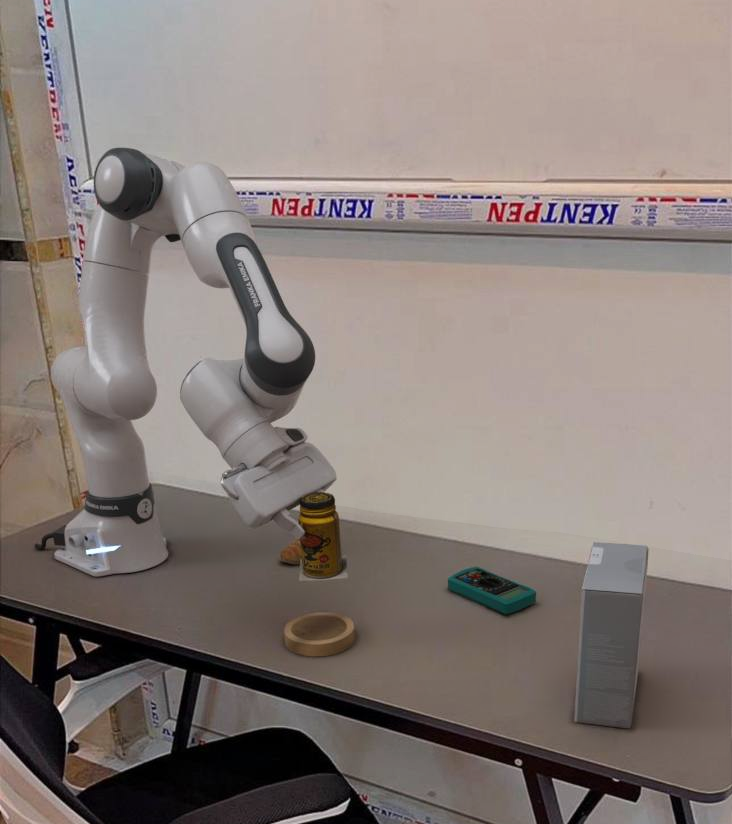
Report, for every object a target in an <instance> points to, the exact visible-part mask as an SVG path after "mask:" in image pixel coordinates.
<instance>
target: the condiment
mask: <svg viewBox="0 0 732 824" xmlns="http://www.w3.org/2000/svg"><path fill="white" fill-rule="evenodd" d="M299 503H300V505H299V512H300V514H298V515H299V516H298V519H297V520H298V521H297V522H298V523H300V522H303V523H304V525H305V527H306V528H307V529H308V532H307V534H306V535H305V536H303V537H302V538H300V546H301V556H302V559H300V565H299V573H298V574H299V576H298V582H302V581H303V582H304V581H306V582H307V581H325V580H326V581H328V580H337V579H348V577H349V576H348V556H347V555H342V547H341V532H340V531H341V529H340V516H339V513H338V512H337V511H336V508H337V506H336V498H335V496H334V495H333V494H332V493H329V492H326V491H324V492H315V493H309V494H306V495H304V496H302V497H301V498H300V502H299Z"/></svg>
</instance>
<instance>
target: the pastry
mask: <svg viewBox="0 0 732 824" xmlns="http://www.w3.org/2000/svg"><path fill="white" fill-rule="evenodd" d="M300 559H302V556H301V546H300V539H296V540H295V541H294V542H292V543H291V544H288V545H287V546H286V547H285V548H283V550H281V551H280V557H279V560H280V561H281V562H283V563H286V564H290V565H294V566H295V565H299V566H300Z"/></svg>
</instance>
